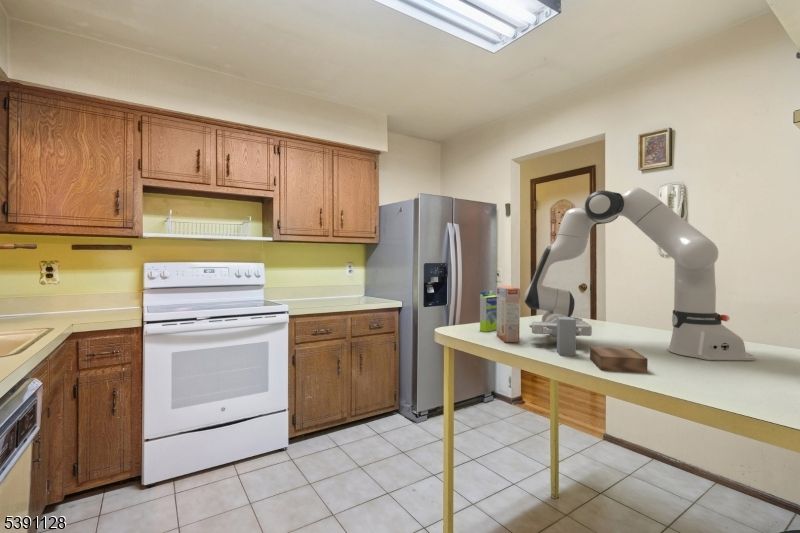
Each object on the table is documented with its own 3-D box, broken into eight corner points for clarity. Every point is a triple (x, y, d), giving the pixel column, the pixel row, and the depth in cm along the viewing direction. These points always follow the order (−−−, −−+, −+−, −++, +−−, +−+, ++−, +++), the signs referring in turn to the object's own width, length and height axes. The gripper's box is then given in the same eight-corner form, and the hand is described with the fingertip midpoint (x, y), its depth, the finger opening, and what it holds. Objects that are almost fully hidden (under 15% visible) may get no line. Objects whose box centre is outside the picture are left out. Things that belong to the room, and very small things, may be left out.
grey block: (572, 352, 131) (572, 317, 130) (575, 356, 126) (575, 319, 126) (556, 351, 132) (557, 316, 132) (559, 355, 127) (559, 319, 127)
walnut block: (631, 361, 119) (631, 348, 119) (647, 372, 107) (647, 358, 107) (589, 359, 122) (590, 346, 122) (600, 370, 110) (600, 356, 110)
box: (486, 332, 166) (486, 292, 166) (478, 330, 170) (478, 292, 169) (500, 329, 174) (500, 291, 173) (492, 328, 177) (492, 290, 176)
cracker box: (520, 343, 145) (520, 288, 145) (504, 343, 145) (504, 288, 145) (510, 335, 159) (510, 285, 159) (496, 335, 159) (496, 285, 159)
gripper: (528, 316, 148) (532, 322, 135) (586, 318, 143) (596, 324, 130) (528, 332, 148) (532, 340, 135) (585, 335, 143) (595, 343, 130)
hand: (564, 332), depth 132 cm, fingers open, 8 cm apart
